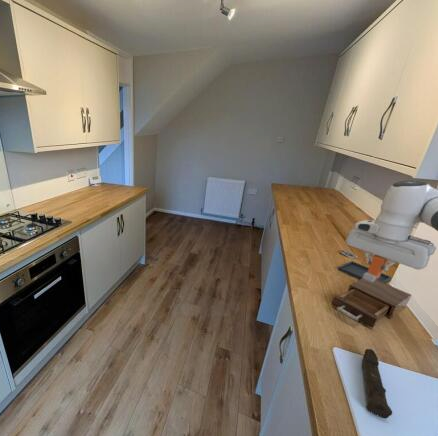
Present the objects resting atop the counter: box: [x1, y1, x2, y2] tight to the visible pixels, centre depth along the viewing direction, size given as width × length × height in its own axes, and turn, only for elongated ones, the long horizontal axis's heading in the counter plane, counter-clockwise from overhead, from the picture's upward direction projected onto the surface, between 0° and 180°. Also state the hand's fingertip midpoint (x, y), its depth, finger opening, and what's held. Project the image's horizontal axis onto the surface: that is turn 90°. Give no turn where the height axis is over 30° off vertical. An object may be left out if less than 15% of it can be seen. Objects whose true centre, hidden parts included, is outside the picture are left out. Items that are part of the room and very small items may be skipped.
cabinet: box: [346, 278, 412, 320], centre depth 91 cm, size 14×14×6 cm
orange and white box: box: [363, 254, 388, 282], centre depth 81 cm, size 3×6×8 cm, turn 118°
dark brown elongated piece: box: [361, 348, 393, 419], centre depth 61 cm, size 19×4×5 cm, turn 143°
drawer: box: [330, 289, 390, 329], centre depth 85 cm, size 17×12×4 cm
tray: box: [337, 260, 392, 284], centre depth 109 cm, size 15×12×2 cm
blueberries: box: [340, 249, 359, 259], centre depth 126 cm, size 7×8×2 cm
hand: (376, 267), depth 82 cm, fingers closed on orange and white box, 2 cm apart
